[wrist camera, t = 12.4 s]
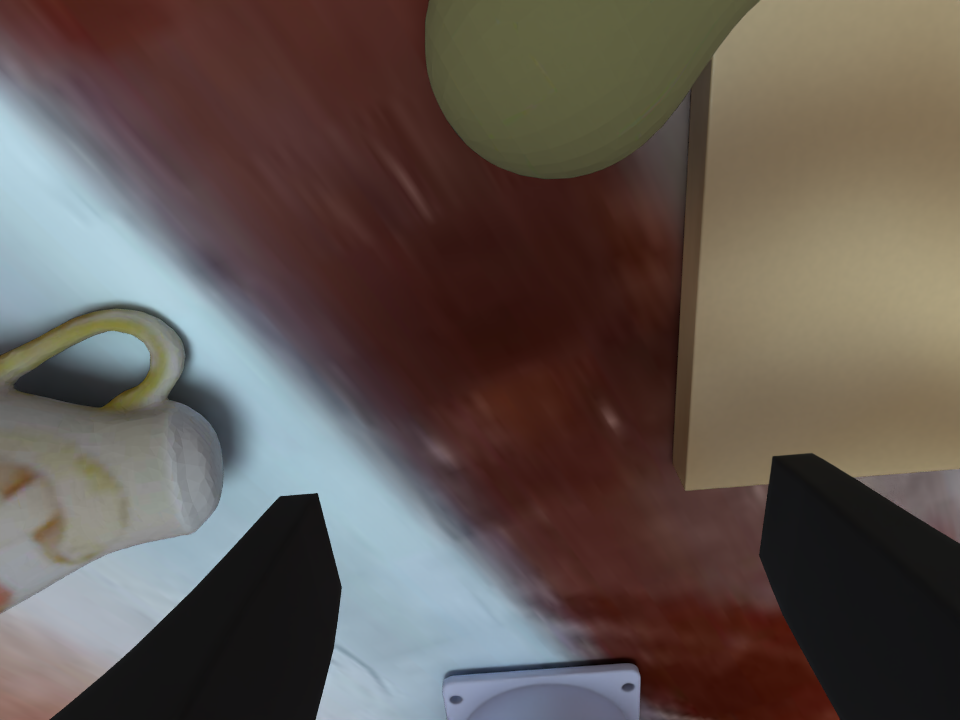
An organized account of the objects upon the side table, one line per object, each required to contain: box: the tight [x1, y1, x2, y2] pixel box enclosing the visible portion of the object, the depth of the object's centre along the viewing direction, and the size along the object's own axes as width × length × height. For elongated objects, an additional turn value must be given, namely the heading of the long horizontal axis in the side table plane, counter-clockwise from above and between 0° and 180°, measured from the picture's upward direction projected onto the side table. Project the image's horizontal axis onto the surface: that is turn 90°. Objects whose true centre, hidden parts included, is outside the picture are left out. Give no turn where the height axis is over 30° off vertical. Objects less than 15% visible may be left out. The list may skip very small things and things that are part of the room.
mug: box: [0, 308, 223, 614], centre depth 19 cm, size 8×10×10 cm
